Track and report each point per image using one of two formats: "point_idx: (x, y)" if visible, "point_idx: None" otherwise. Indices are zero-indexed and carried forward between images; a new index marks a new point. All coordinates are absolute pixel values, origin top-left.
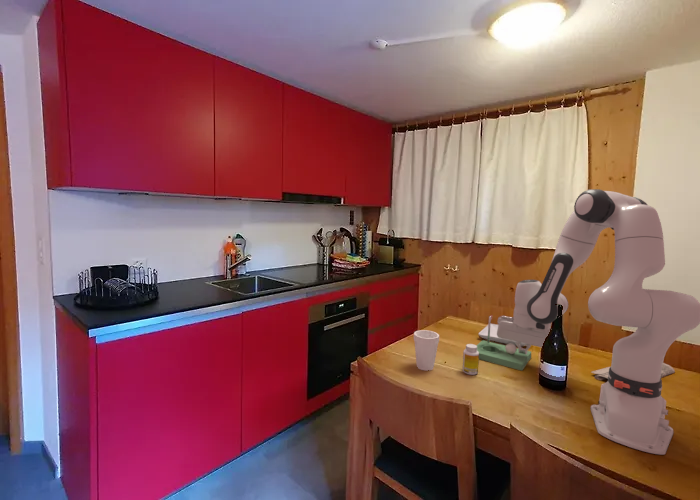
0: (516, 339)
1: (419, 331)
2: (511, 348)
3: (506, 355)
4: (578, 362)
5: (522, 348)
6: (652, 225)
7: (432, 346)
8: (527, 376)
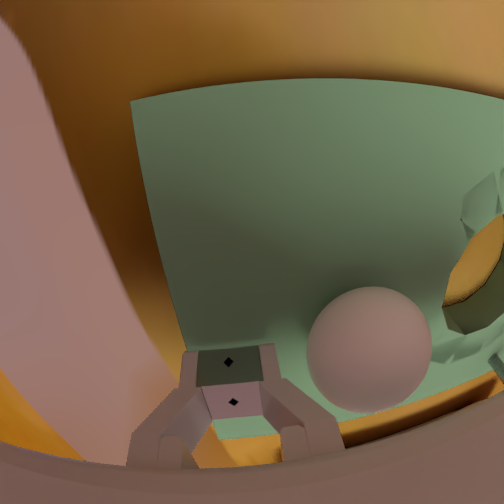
0: (356, 484)
1: None
2: (368, 328)
3: (377, 233)
4: (59, 447)
5: (247, 408)
6: None
7: None
8: (75, 27)
